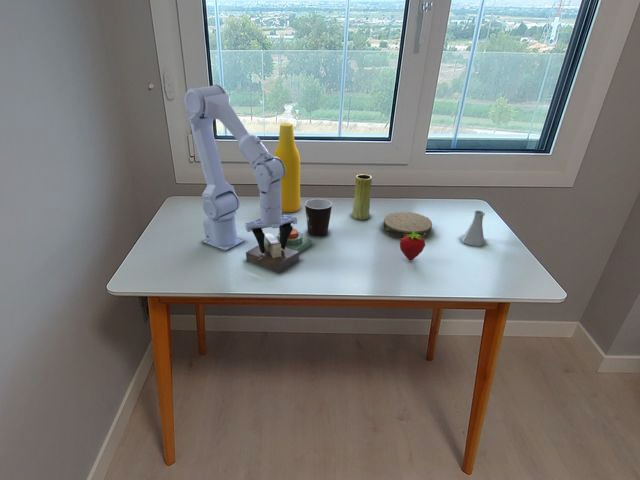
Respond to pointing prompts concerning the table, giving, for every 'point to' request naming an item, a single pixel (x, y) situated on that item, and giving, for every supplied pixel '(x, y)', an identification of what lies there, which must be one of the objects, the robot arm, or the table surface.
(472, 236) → the flask
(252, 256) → the switch base
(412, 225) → the cork coaster disc
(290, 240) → the button box
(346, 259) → the table surface
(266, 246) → the cream rectangular block
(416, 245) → the strawberry
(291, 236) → the button
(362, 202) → the vase
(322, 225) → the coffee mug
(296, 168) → the beer bottle
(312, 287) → the table surface
